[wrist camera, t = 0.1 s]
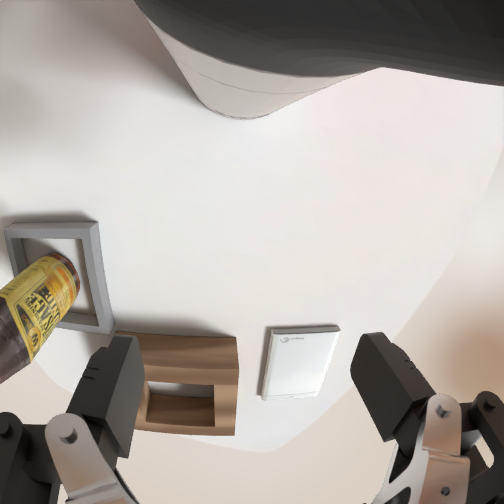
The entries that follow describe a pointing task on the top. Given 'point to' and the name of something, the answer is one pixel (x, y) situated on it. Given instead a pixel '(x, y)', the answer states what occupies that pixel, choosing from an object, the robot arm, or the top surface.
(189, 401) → the holder
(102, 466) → the robot arm
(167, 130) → the top surface
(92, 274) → the square frame
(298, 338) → the hard drive
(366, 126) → the top surface
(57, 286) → the sauce bottle
